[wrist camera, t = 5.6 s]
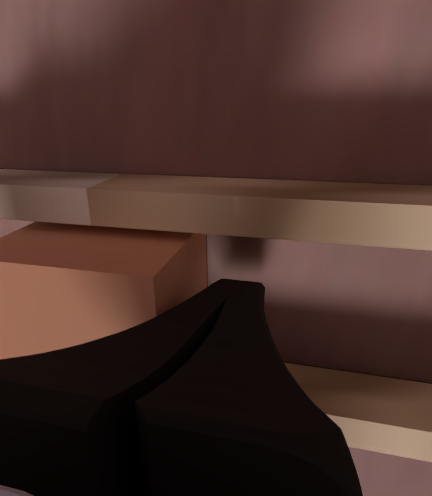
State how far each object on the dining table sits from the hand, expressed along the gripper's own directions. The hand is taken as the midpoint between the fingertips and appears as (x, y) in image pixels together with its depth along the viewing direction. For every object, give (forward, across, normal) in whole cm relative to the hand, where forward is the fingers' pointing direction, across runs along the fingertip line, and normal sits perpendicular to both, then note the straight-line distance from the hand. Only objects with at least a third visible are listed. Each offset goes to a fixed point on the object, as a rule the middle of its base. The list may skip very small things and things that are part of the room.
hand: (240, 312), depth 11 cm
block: (+1, +4, 0) cm, 4 cm away
